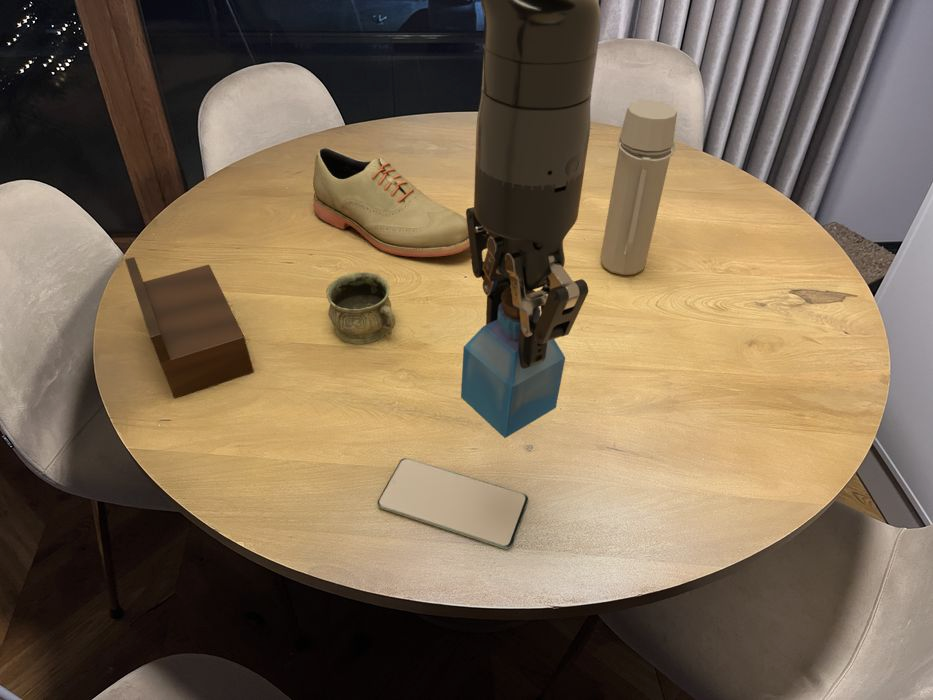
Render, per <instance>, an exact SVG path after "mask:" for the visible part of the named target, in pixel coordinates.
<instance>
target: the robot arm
mask: <svg viewBox="0 0 933 700" xmlns="http://www.w3.org/2000/svg"><path fill="white" fill-rule="evenodd" d="M479 1H480V6H481V11H482V16H483V35H482V37H483V38H482V62H481V63H482V64H481V65H482V66H481V89H480V98H479V99H480V100H479V104H478V110H477V117H476V126H475V127H476V129H475V161H474V195H473V206H472V207H468V208H466V210H465V218H466V219H467V227H468V235H469V244H470V247H469V252H470V260H471V269H472V273H473V275H474V277H475V278H476V279H479V278H481V279H482V280H483V281H482V290H483V293H484V295H486V310H485V313H486V314H485V316H486V318H485V325H487V324H489V323H491V322H493V321H495V320H498V319H497V318H498V308H499V305H500V303H501V302H502V300H501V295H502V293H503V291H504V290H506V289H508V288H510V287H511V292H512V301H513V305H514V306H515V307H517V308H519V313H520V323H521V330H520V333H519V344H518V352H519V359H520V365H521V367H522V368H523V369H525V368H528V367H531V366H534V365H536V364H539V363H541V362H544V360H545V358H546V349H547V343H548V341H550V340H553V339H554V340H556V339H559V338H561V337H562V338H563V337H565V336H568V335H570V332H571V331H572V328H573V326H574V324H575V323H576V320H577V317H578V316H579V313H580V311H581V309H582V308H583V305H584V302H585V300H586V298H587V296H588V294H589V286H588V283H587V282H586V280H584V279H583V278H580V279H577V280H573V279H572V278H571V277H570V275H569V273H568V272H567V271H566V269H565V268H564V266H565V263H566V257H565V253H564V239H565V238H566V236H567V234H569V232H570V231H571V229H572V228H573V227H574V226H575V224H576V223H577V221H578V217H579V212H580V211H579V210H580V205H581V204H580V203H581V197H582V189H583V183H584V176H585V168H586V163H587V155H588V148H589V141H590V133H591V104H592V103H591V102H592V92H593V87H594V86H593V85H594V77H595V73H596V72H595V70H596V64H597V59H598V58H597V56H598V49H599V47H598V46H599V42H600V41H599V40H600V33H601V20H602V18H601V16H602V15H601V6H600V4H599V2H598V0H479ZM484 250H487V251H486V254H485V257H484V259H483V251H484ZM540 288H541V289H540ZM536 289H539V290H536ZM531 290H534V291H536V292H533V293H530V294H526V293H525V291H531ZM536 307H539V308H540V316H539V317H536V318H533V309H534V308H536Z"/></svg>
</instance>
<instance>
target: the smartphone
mask: <svg viewBox="0 0 933 700" xmlns="http://www.w3.org/2000/svg"><path fill="white" fill-rule="evenodd" d="M528 503H529V497H528V495H527V494H525V493H523V492H519V491H517V490H514V489H510V488H508V487H507V488H506V487H503V486H500V485H497V484H493V483H490V482H487V481H483V480H480V479H477V478H474V477H470V476H466V475H463V474H460V473H457V472H453V471H450V470H447V469H444V468H441V467H437V466H434V465H431V464H428V463H425V462H421V461H418V460H414V459H411V458H407V457H404V458H402V459H400V460H399V462H398V464H397V466H396V468H395V469H394V471H393V473H391V476H390V478H389V480H388V481H387V483H386V485H385V486H384V488H383V491H382V492H381V494H380V496H379V498H378V499H377V506H378V508H380V509H382V510H385V511H388V512H391V513H394V514H397V515H400V516H403V517H406V518H409V519H412V520H416V521H418V522H422V523H424V524H428V525H431V526H434V527H437V528H439V529H443V530H446V531H449V532H452V533H455V534H459V535H461V536H465V537H468V538H470V539H473V540H477V541H480V542H483V543H485V544H486V543H487V544H489V545H492V546H496V547H498V548H501V549H505V550H506V549H507V550H508V549H510V548H512V546H513V545H514V542H515V539H516V535H517V533H518V532H519V529H520V528H519V527H520V525H521V522H522V519H523V517H524V515H525V512H526V509H527V506H528Z"/></svg>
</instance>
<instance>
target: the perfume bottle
mask: <svg viewBox="0 0 933 700" xmlns="http://www.w3.org/2000/svg"><path fill="white" fill-rule="evenodd" d="M536 291H537V290H535V289H534V290H531V291H525V293H526V294H530V293H533V292H536ZM501 300H502V302H501V303H500V305H499V308H498V318H497V319H498V320H495V321H493V322H491V323H489V324H487V325H486V324H485V325H483V326H482V327H481V328H480V329H479V330H478V331H476V333H475V334H474V336H472V337H471V338H470V339H469V340H468V342H466V344H465V345H463V349H462V350H463V352H462V353H463V354H462V367H461V368H462V371H461V372H462V373H461V385H460V386H461V388H460V391H461V392H460V398H461V399H462V401H464V402H465V403H466V404H467V405H468V406H470V408H472V409H473V410H474V411H475V412H476V413H477V414H478V415H479V416H480V417H481V418H482V419H484V420H485V421H486V423H488V424H489V425H490V426H491V427H492V428H493V429H494V430H495V431H496V432H497V433H498V434H499V435H500V436H502V438H504V439H507V438H508V437H510V436H512V435H513V434H515V433H516V432H518V431H520V430H522V429H523V428H525V427H527V426H528V425H530V424H531V423H533V422H534V421H536V420H538V419H540V418H542V417H543V416H545V415H547V414H549V413H550V412H551V411H553V410H555V409H557V404H558V399H559V394H560V387H561V384H562V377H563V373H564V368H565V367H564V366H565V363H566V356H565V355H564V353H563V352H562V349H561V348H560V346H559V345H558V343H557V342H556V339H553V340H550V341H548V343H547V349H546V358H545V360H544V362H541V363H539V364H536V365H534V366H531V367H528V368H525V369H523V368H522V367H521V365H520V359H519V352H518V344H519V333H520V330H521V323H520V313H519V308H517V307H515V306H514V305H513V301H512V292H511V287H510V288H508V289H506V290H504V291H503V293H502V295H501ZM540 315H541V307H540V306H539V307H536V308H534V309H533V318H536V317H539V316H540Z"/></svg>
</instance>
